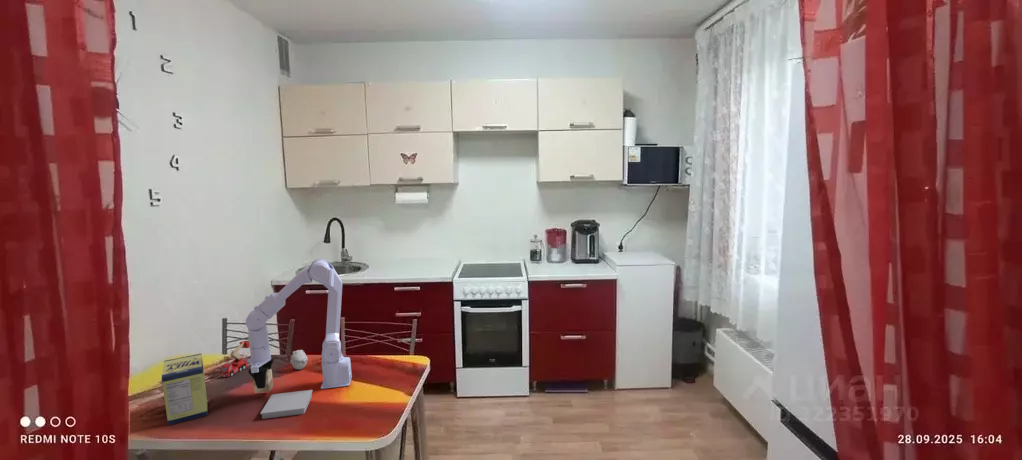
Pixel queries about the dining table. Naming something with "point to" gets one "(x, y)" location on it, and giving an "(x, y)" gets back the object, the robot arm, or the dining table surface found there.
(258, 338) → the robot arm
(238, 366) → the toy fire truck
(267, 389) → the birch block
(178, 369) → the protein box
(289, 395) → the thin white square tile
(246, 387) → the dining table surface
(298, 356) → the white rounded lump
